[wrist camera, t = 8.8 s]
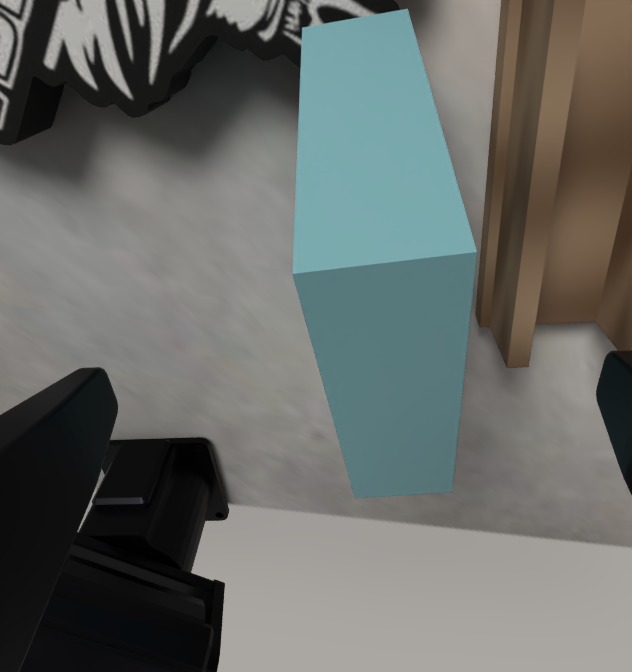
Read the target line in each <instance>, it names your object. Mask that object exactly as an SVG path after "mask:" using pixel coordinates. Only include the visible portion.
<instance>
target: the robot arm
mask: <svg viewBox="0 0 632 672" xmlns="http://www.w3.org/2000/svg"><path fill="white" fill-rule="evenodd" d="M596 398H597V402H598V406H599V409H600V411H601V414H602V417H603V420H604V423H605V426H606V429H607V432H608V435H609V438H610V441H611V444H612V446H613V449H614V452H615V455H616V458H617V461H618V464H619V467H620V469H621V472H622V475H623V477H624V480H625V482H626V484H627V486H628V488H629V491H630V493H631V495H632V350H625V351H611V352H609V353H608V354H607V355H606V357H605V360H604V363H603V367H602V371H601V374H600V378H599V382H598V385H597V390H596ZM117 413H118V403H117V399H116V396H115V394H114V391H113V388H112V386H111V383H110V380H109V378H108V375H107V373H106V371H105V370H104V369H102V368H100V367H94V368H80V369H78V370H76V371H74V372H73V373H71V374H69V375H68V376H66V377H64V378H63V379H61V380H59V381H57V382H56V383H54V384H52V385H51V386H49V387H47V388H46V389H44V390H42V391H40V392H39V393H37V394H35V395H34V396H32V397H30V398H28V399H27V400H25V401H23V402H22V403H20V404H18V405H17V406H15V407H13V408H11V409H10V410H8V411H6V412H5V413H3V414H1V415H0V672H217V668H218V663H219V656H220V645H221V631H222V616H223V602H224V588H225V583H223V582H221V581H218V580H214V581H212V580H209V579H206V578H204V577H201V576H198V575H195V574H192V573H191V570H192V567H193V563H194V560H195V556H196V553H197V549H198V545H199V542H200V538H201V534H202V531H203V527H204V524H205V521H214V520H215V521H219V520H225V519H226V518H227V517H228V513H229V508H228V504H227V501H226V497H225V494H224V490H223V487H222V483H221V480H220V476H219V473H218V469H217V466H216V462H215V459H214V455H213V452H212V448H211V445H210V442H209V441H208V440H207V439H205V438H200V437H197V438H165V439H134V440H110V438H111V434H112V431H113V427H114V424H115V420H116V417H117ZM199 446H201V447H199ZM101 469H102V470H103V472H104V474H105V476H104V478H103V480H102V482H101V484H100V486H99V488H98V490H97V492H96V494H95V496H94V498H93V500H92V503H93V504H92V506H91V508H90V511H89V512H88V514H87V516H86V518H85V520H84V522H83V524H82V526H81V528H80V530H79V532H77V531H78V529H79V526H80V524H81V521H82V519H83V517H84V514H85V512H86V509H87V507H88V505H89V502H90V500H91V497H92V495H93V492H94V490H95V487H96V484H97V482H98V478H99V475H100V472H101Z"/></svg>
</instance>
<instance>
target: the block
mask: <svg viewBox="0 0 632 672" xmlns="http://www.w3.org/2000/svg"><path fill="white" fill-rule="evenodd" d="M476 257H477V250H476V247H475V243H474V240H473V236H472V233H471V229H470V226H469V222H468V219H467V215H466V212H465V208H464V205H463V201H462V198H461V194H460V190H459V187H458V183H457V180H456V176H455V173H454V169H453V166H452V162H451V159H450V155H449V152H448V148H447V145H446V141H445V138H444V134H443V131H442V127H441V124H440V120H439V117H438V113H437V110H436V106H435V103H434V99H433V96H432V92H431V89H430V85H429V82H428V78H427V75H426V71H425V68H424V64H423V61H422V57H421V54H420V50H419V47H418V43H417V40H416V36H415V33H414V29H413V26H412V22H411V19H410V15H409V12H408V9H403V10H398V11H392V12H387V13H381V14H376V15H370V16H364V17H359V18H353V19H348V20H342V21H337V22H331V23H325V24H320V25H314V26H309V27H303V28H302V46H301V71H300V96H299V121H298V146H297V171H296V197H295V222H294V247H293V272H292V274H293V278H294V281H295V285H296V288H297V292H298V296H299V299H300V303H301V306H302V310H303V314H304V317H305V321H306V324H307V328H308V331H309V335H310V339H311V342H312V346H313V349H314V353H315V357H316V360H317V364H318V367H319V371H320V375H321V378H322V382H323V385H324V389H325V392H326V396H327V400H328V403H329V407H330V410H331V414H332V418H333V421H334V425H335V428H336V432H337V435H338V439H339V443H340V446H341V450H342V453H343V457H344V461H345V464H346V468H347V471H348V475H349V479H350V482H351V486H352V489H353V493H354V496H355V498H368V497H384V496H401V495H417V494H433V493H449V492H452V488H453V478H454V469H455V459H456V449H457V440H458V430H459V420H460V411H461V401H462V392H463V382H464V372H465V363H466V353H467V343H468V334H469V324H470V314H471V305H472V295H473V286H474V276H475V266H476Z"/></svg>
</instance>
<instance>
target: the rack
mask: <svg viewBox="0 0 632 672" xmlns="http://www.w3.org/2000/svg"><path fill="white" fill-rule="evenodd" d="M476 318H477V320H478V323H479V325H480V327H490V329H491V331H492V334H493V336H494V338H495V341H496V343H497V345H498V348H499V350H500V352H501V355H502V357H503V360H504V362H505V364H506V367H507V368H517V367H529V361H530V354H531V348H532V341H533V335H534V329H535V324H550V323H570V322H590V321H596V322H597V323H598V325H599V326H600V327H601V329H602V330H603V331H604V333H605V334H606V335H607V337H608V338H609V339H610V341H611V342H612V343H613V345H614V346H615V347H616V349H617V350H618V351H625V350H632V0H501V12H500V24H499V36H498V48H497V60H496V72H495V84H494V97H493V109H492V121H491V133H490V145H489V157H488V169H487V181H486V194H485V206H484V218H483V230H482V242H481V254H480V266H479V278H478V291H477V303H476Z"/></svg>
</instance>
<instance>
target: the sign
mask: <svg viewBox="0 0 632 672" xmlns="http://www.w3.org/2000/svg"><path fill="white" fill-rule="evenodd" d="M398 10H400V9H399V7H398V4H397V3H396V2H395V1H394V0H0V144H3V145H12V144H15V143H17V142H19V141H22V140H24V139H26V138H28V137H31V136H33V135H35V134H37V133H40V132H42V131H44V130H46V129H49V128H51V126H52V124H53V121H54V118H55V115H56V112H57V108H58V105H59V101H60V98H61V95H62V91H63V88H64V84H66V83H68V84H69V85H70V86H71V87H72V88H73V89H74V90H75V91H76V92H77V93H78V94H80V95H81V96H82V97H83V98H84V99H85V100H87V101H88V102H89V103H91V104H93V105H95V106H97V107H107V106H109V105H111V104H113V103H115V104H116V105H117V106H118V107H119V108H120V109H121V110H123V111H124V112H125V113H126V114H127V115H129V116H131V117H133V118H135V117H141V116H143V115H145V114H147V113H149V112H151V111H152V110H154V109H156V108H157V107H159V106H161V105H163V104H164V103H166V102H168V101H169V99H170V98H171V95H173V94H175V93H176V92H178V91H180V90H182V89H183V88H185V86H186V85H187V83H188V81H189V78H190V75H191V70H192V67H193V66H194V65H195V64H196V63H198V62H199V61H201V60H202V59H203V58H204V57H205V55H206V54H207V52H208V51H209V50H210V48H211V47H212V46H213V44H214V43H215V42H216V40H217V39H218V38H220V39H221V40H223V41H224V42H226V43H227V44H229V45H230V46H232V47H234V48H236V49H239V50H243V51H244V50H247V49H248V50H250V51H252V52H253V53H254V54H255V55H256V56H257V57H258V58H260V59H261V60H270V59H273V58H276V57H278V56H279V55H280V54H283V55H285V56H287V57H288V58H289V59H290V60H291V61H292V62H294V63H295V64H296V65H297V66H299V67H300V68H301V46H302V28H303V27H309V26H314V25H320V24H325V23H331V22H337V21H342V20H348V19H353V18H359V17H364V16H370V15H376V14H381V13H387V12H392V11H398Z"/></svg>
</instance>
